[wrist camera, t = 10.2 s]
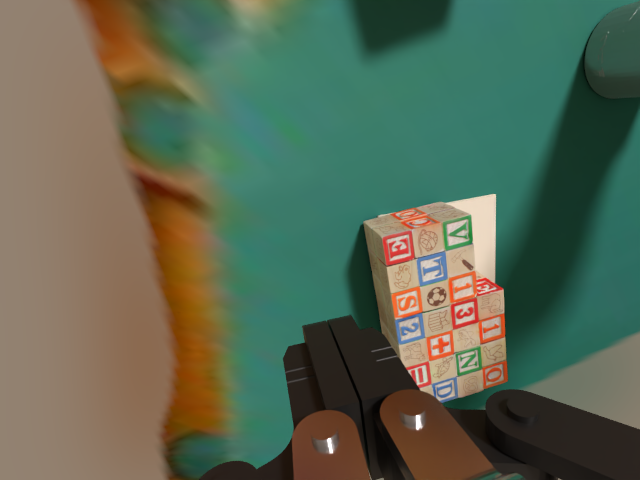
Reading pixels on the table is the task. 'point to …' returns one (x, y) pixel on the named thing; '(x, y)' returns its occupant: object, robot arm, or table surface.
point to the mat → (481, 231)
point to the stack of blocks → (437, 300)
